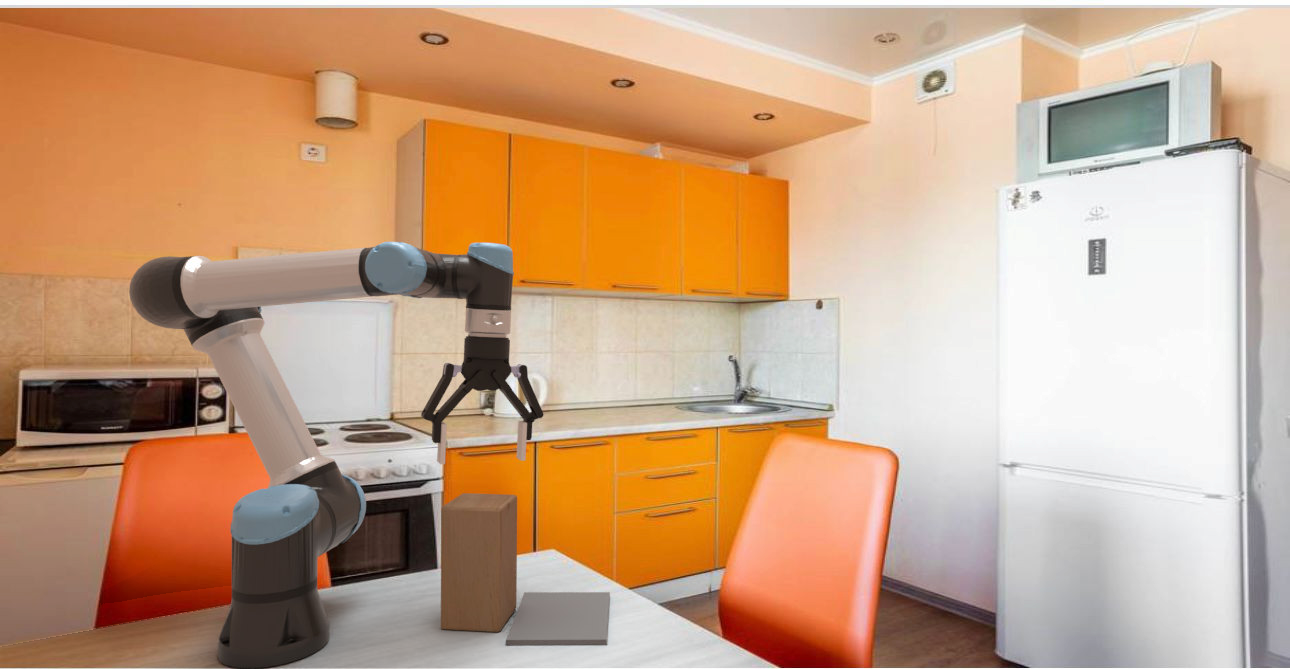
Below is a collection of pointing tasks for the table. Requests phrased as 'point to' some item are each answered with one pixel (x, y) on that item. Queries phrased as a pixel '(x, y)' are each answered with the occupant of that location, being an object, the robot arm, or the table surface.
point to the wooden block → (478, 562)
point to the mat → (561, 619)
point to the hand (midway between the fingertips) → (482, 461)
